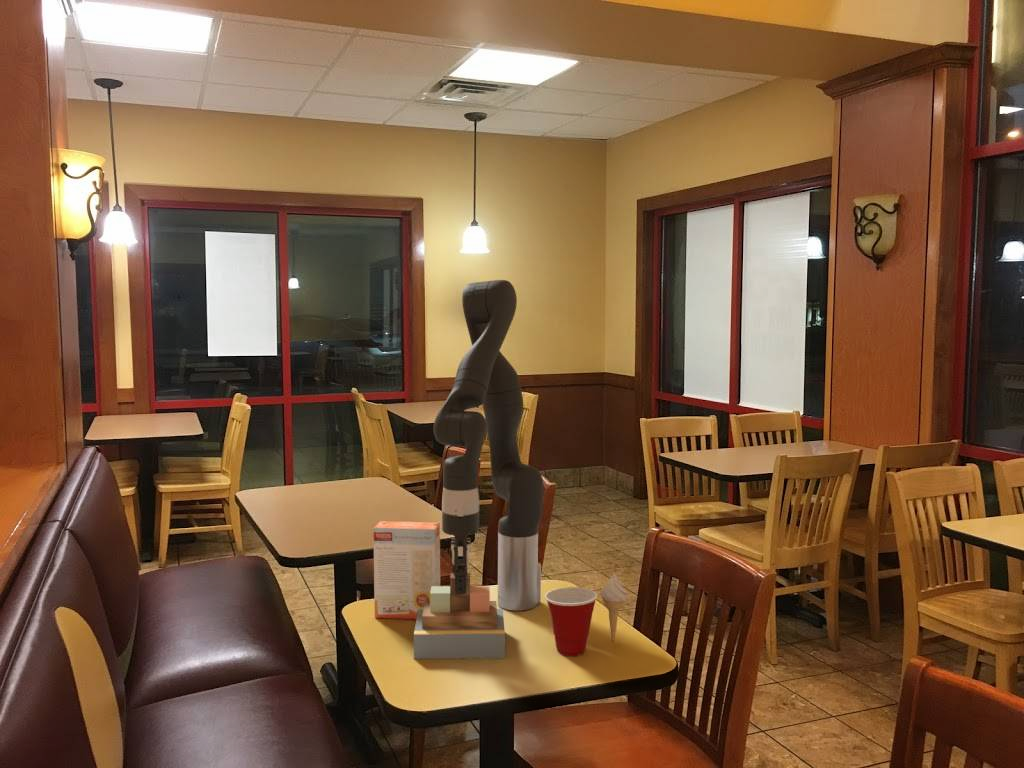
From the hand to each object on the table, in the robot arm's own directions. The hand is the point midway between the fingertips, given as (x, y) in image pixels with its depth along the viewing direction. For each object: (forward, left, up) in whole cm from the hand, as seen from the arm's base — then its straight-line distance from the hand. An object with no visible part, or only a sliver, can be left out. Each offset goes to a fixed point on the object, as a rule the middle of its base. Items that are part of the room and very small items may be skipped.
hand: (461, 585), depth 171 cm
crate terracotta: (-3, +2, -5) cm, 6 cm away
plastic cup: (-17, +15, -13) cm, 26 cm away
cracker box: (+1, -20, -13) cm, 24 cm away
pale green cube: (+3, -3, -5) cm, 6 cm away
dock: (0, 0, -13) cm, 13 cm away
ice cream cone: (-27, +17, -13) cm, 34 cm away
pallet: (0, 0, -8) cm, 8 cm away
